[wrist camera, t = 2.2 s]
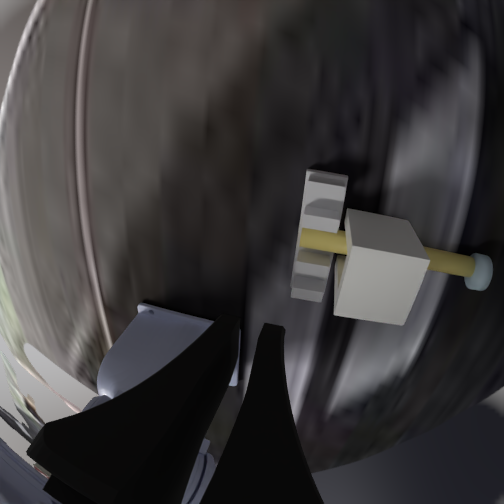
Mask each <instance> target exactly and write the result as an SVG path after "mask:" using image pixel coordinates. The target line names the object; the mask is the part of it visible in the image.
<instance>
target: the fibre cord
mask: <svg viewBox="0 0 504 504" xmlns="http://www.w3.org/2000/svg"><path fill="white" fill-rule="evenodd" d="M299 247H305V248H311V249H316V250H322V251H328V252H334V253H339V254H345V255H347V243H346V232H345V231H341V230H337V233H332V232H326V231H321V230H315V229H309V228H303V227H302V232H301V238H300V244H299ZM423 247H424V246H423ZM424 249H425V251H426V253H427V255H428V257H429V259H430V263H429V265H428V268H427V270H433V271H438V272H443V273H448V274H454V275H459V276H464V280H465V284H466V286H467V288H469V289H473V290H479V291H483V290H485V289H486V288H487V287H488V285H489V284H490V281H491V278H492V274H493V265H492V261H491V259H490V257H489V256H487V255H482V254H478V253H473V254H472V255H471V256H466V255H462V254H457V253H453V252H448V251H443V250H439V249H434V248H429V247H424Z"/></svg>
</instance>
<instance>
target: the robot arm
mask: <svg viewBox="0 0 504 504" xmlns="http://www.w3.org/2000/svg"><path fill="white" fill-rule="evenodd" d="M137 308H138V314H137V316H136V317H135V318H134V319H133V321H132V322H131V323H130V324H129V326H128V327H127V328H126V329H125V331H124V332H123V333H122V334H121V336H120V337H119V338H118V340H117V341H116V342H115V343H114V345H113V346H112V347H111V349H110V350H109V351H108V353H107V354H106V356H105V357H104V359H103V361H102V364H101V366H100V369H99V373H98V378H97V387H98V393H99V396H98V397H94V398H93V399H92V400H91V401H90V402H89V403H88V404H87V405H86V407H85V408H84V409H83V411H82V412H80V413H78V414H75V415H72V416H68V417H65V418H62V419H59V420H55V421H52V422H48V423H46V424H45V425H44V426H43V428H42V429H41V430H40V431H39V433H38V434H37V436H36V437H35V439H34V440H33V442H32V443H31V445H30V447H29V448H28V450H27V451H26V452H27V455H28V456H29V457H30V458H32V459H33V460H34V461H35V462H36V463H38V464H39V465H40V466H42V467H43V468H44V469H45V470H47V471H48V472H49V473H51V476H50V478H49V479H48V478H46V477H45V476H44V475H42V474H41V473H40V472H38V471H37V470H36V469H35V468H33V467H32V466H31V465H30V464H28V463H27V462H26V461H25V460H24V459H22V458H21V457H20V456H19V455H18V454H17V453H15V452H14V451H13V450H12V449H11V448H10V447H9V446H8V445H7V444H6V443H5V442H4V441H3V440H2V439H1V438H0V504H324V502H323V500H322V498H321V496H320V494H319V492H318V490H317V487H316V485H315V482H314V480H313V477H312V475H311V472H310V469H309V467H308V464H307V461H306V458H305V456H304V453H303V450H302V447H301V444H300V440H299V437H298V434H297V430H296V426H295V422H294V418H293V414H292V410H291V405H290V400H289V394H288V388H287V381H286V373H285V363H284V336H285V328H284V327H283V326H278V325H273V324H268V323H264V326H263V328H262V330H261V333H260V335H259V338H258V342H257V346H256V351H255V355H254V360H253V365H252V369H251V374H250V378H249V382H248V387H247V391H246V394H245V398H244V401H243V404H242V406H241V409H240V411H239V414H238V417H237V419H236V422H235V424H234V427H233V429H232V432H231V434H230V437H229V439H228V442H227V444H226V447H225V449H224V451H223V454H222V456H221V458H220V460H219V463H218V465H217V467H216V466H215V463H214V458H213V456H212V455H211V454H209V453H207V452H206V451H207V449H208V446H209V444H210V441H209V440H207V439H205V438H204V437H205V435H206V433H207V430H208V428H209V426H210V424H211V422H212V420H213V418H214V416H215V414H216V411H217V409H218V407H219V405H220V403H221V401H222V399H223V397H224V394H225V392H226V390H227V388H228V386H229V385H231V386H236V385H237V383H238V371H239V353H240V336H241V330H240V317H235V316H231V315H226V314H222V315H220V316H219V317H218V318H217V319H216V320H215V321H211V320H207V319H203V318H199V317H195V316H191V315H187V314H183V313H179V312H175V311H171V310H167V309H164V308H160V307H156V306H153V305H149V304H145V303H140V304H139V305H138V307H137Z"/></svg>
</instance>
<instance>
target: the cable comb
mask: <svg viewBox="0 0 504 504" xmlns="http://www.w3.org/2000/svg"><path fill="white" fill-rule="evenodd" d="M347 182H348V175H342V174H336V173H331V172H325V171H319V170H312V169H307V172H306V180H305V188H304V196H303V203H302V210H301V218H300V225H299V232H298V238H297V245H296V252H295V258H294V265H293V271H292V277H291V283H290V287H292V291H291V298H297V299H303V300H308V301H314V302H320V303H321V301H322V297H323V293H325V289H326V285H327V280H328V276H329V272H330V267H331V263H332V259H333V254H334V252H328V251H322V250H316V249H311V248H305V247H299V244H300V238H301V232H302V227H303V228H309V229H315V230H321V231H326V232H332V233H337V230H339V225H340V220H341V215H342V210H343V204H344V199H345V193H346V188H347Z"/></svg>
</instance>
